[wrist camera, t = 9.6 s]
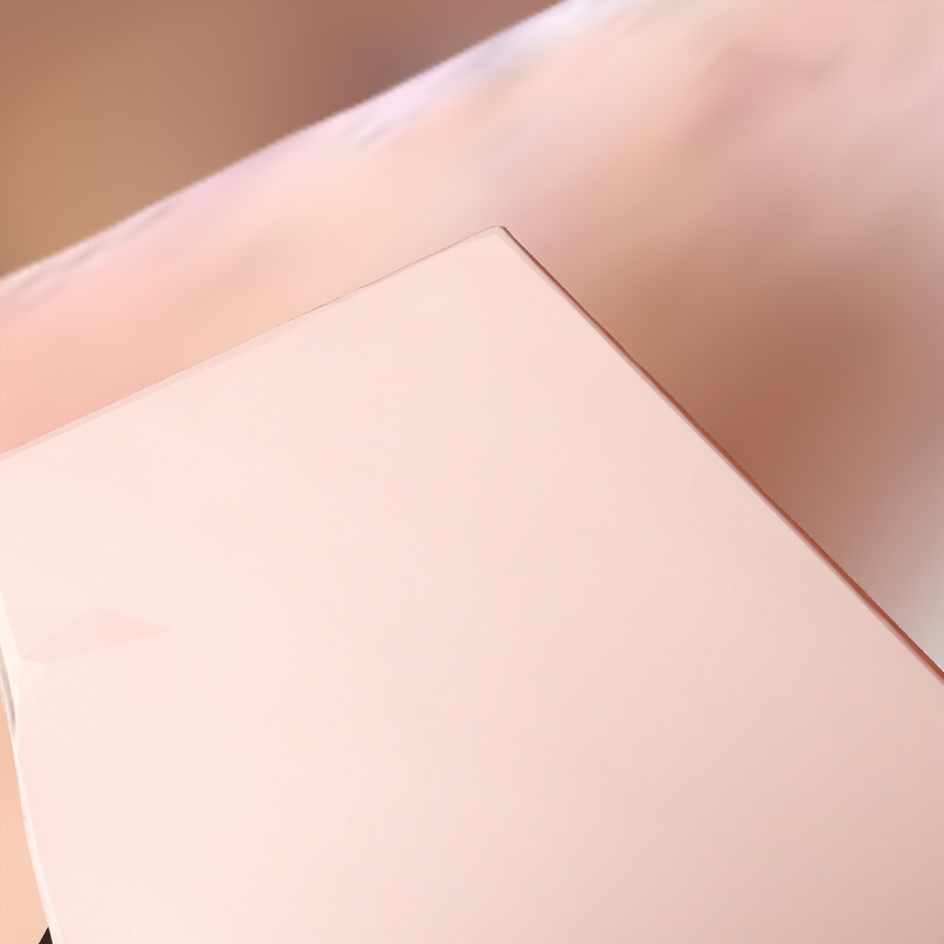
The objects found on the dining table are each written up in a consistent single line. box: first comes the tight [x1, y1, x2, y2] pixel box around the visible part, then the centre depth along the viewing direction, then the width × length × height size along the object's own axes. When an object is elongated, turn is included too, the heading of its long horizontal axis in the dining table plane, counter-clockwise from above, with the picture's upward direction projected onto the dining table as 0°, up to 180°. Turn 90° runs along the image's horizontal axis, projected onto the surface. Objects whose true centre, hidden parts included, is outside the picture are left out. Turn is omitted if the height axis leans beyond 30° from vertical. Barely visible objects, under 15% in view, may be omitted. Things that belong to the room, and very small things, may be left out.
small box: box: [0, 226, 944, 944], centre depth 12 cm, size 8×6×13 cm
